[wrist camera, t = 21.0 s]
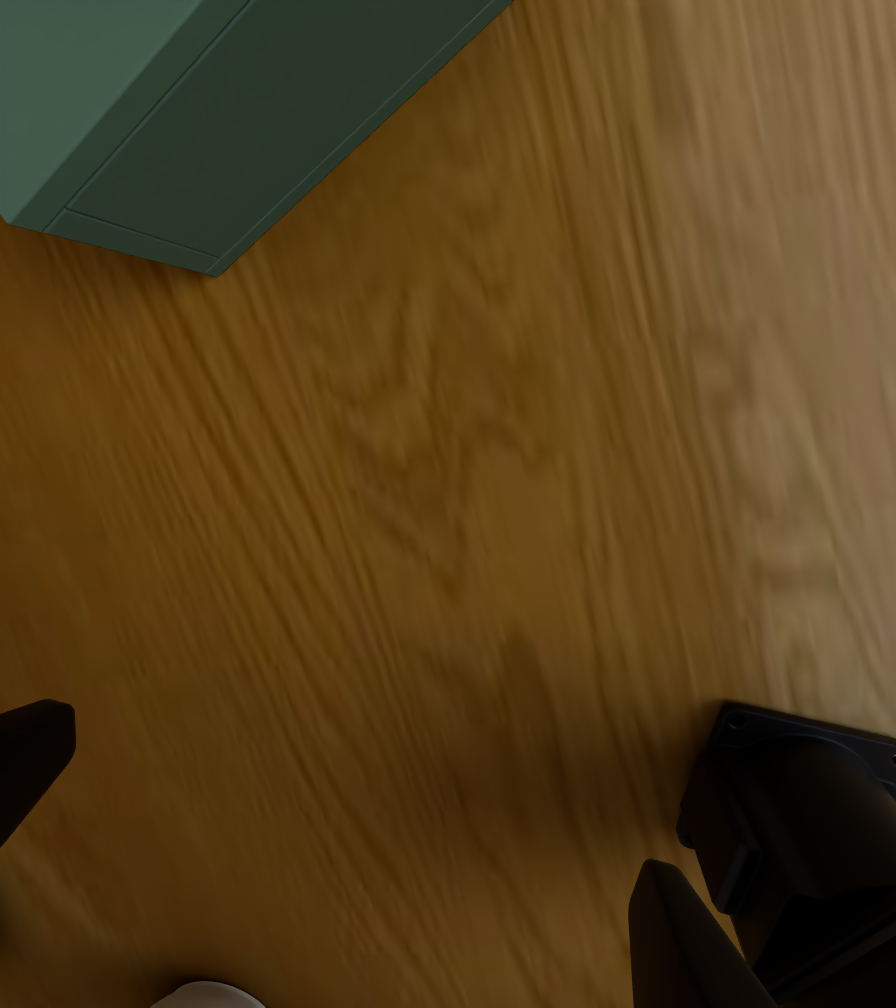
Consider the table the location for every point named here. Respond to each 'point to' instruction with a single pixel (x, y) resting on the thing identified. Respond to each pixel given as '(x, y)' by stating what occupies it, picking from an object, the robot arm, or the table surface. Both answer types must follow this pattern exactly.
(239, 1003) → the pitcher
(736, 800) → the robot arm
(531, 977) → the table surface
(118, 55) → the lid
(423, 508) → the table surface
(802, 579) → the table surface
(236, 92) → the open green box
